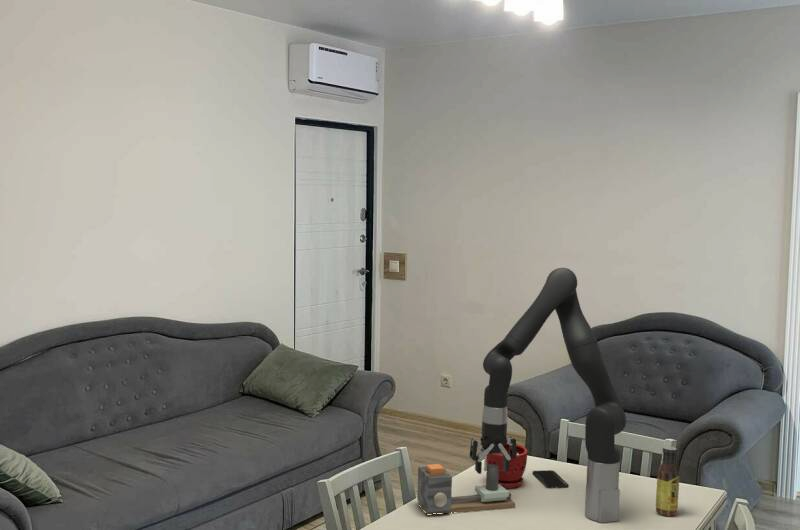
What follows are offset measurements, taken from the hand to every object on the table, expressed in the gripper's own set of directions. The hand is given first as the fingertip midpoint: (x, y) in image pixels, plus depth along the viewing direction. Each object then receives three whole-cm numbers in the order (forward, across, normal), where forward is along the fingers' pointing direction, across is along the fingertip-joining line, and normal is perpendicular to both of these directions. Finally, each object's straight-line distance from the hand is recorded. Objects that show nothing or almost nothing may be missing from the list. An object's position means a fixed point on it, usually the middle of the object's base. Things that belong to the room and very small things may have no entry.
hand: (492, 472), depth 248 cm
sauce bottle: (+10, +49, -18) cm, 53 cm away
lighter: (+10, +13, +28) cm, 33 cm away
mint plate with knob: (+8, 0, -1) cm, 8 cm away
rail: (+10, -8, -1) cm, 13 cm away
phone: (+10, +28, +16) cm, 33 cm away
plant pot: (+10, +12, +15) cm, 22 cm away
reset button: (0, -19, -1) cm, 19 cm away
